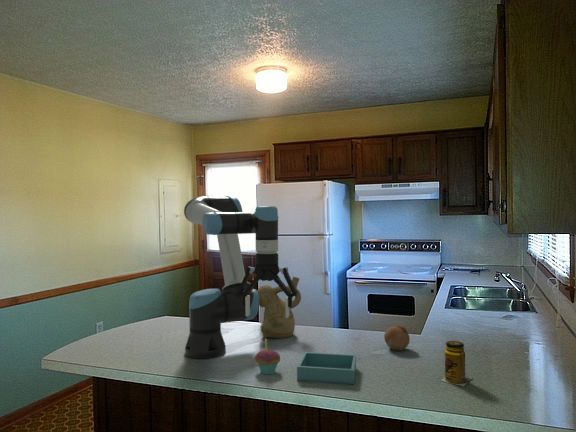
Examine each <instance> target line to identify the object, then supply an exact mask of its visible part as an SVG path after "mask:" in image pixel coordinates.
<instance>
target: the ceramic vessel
mask: <svg viewBox="0 0 576 432" xmlns="http://www.w3.org/2000/svg"><path fill="white" fill-rule="evenodd" d="M291 280H292V282H293V284H294V286H295V288H296V290H297V292H298V294H297V295H296V296H294V299H292V307H289V317H288V318H286V309H285V301H284V300H283V299H281V297H279V295H278V294H279V293H282V292H283V290H282V289H281V288H280V287H279V286H278V285H277V286H274V287H272V286H271V285H269V284H263V285H261V286H260V287H258V289H256V290H257V292H258V295H259V307H260V308H264V311H263V319H262V323H261V326H260V332H261V333H262V335H264V337H266V338H271V339H286V338H290V337H291V336H292V335H294V333H295V329H296V328H295V327H296V323H295V317H294V314H293V311H292V309H295V308H296V307H298V306H299V305H300V303H301V300H302V294H301V291H300V290H299V289H298V288H297V287H298V284H299V281H300V278H299V277H297V276H292V278H291ZM286 287H287V288H288V289H289V290H290V288H289V286H288V285H286ZM290 292H291V290H290ZM291 293H292V292H291Z"/></svg>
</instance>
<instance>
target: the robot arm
mask: <svg viewBox="0 0 576 432" xmlns="http://www.w3.org/2000/svg"><path fill="white" fill-rule="evenodd" d="M183 209H184V210H183V214H184V216H185V218H186V220H187V221H189V223H191V224H193V225H200V226H202V230H203V233H204V234H206V235H208V236H209V235H211V236H212V235H213V236H216V237H217V243H218V251H219V256H220V260H221V261H220V263H221V267H222V274H223V280H224V286H222V288H221V290H220V288H214V287H213V288H206V289H201V290H198V291H195V292H193V293H192V294H191V295H190V296H189V302H188V303H189V304H188V305H189V306H188V309H189V312H188V313H189V315H188V316H189V318H188V319H189V333H188V338H187V339H186V344H185V346H184V354H185V356H186V357H188V358H191V359H211V358H212V359H213V358H216V357H220V356H222V355H224V354H225V353H226V347H227V346H226V342H225V339H224V337H223V334H222V330H221V328H222V324H225V323H226V324H227V323H232V322H235V323H236V322H242V321H243V322H246V321H249V320H253V319H255V317H256V316H257V315H258V312H259V307H260V305H259V295H258V292H257V290H258V289H256V288H255V289H254V287H255V286H256V285H257V284H258V282H259V281H260V280H261V281H262V282H265V281H268V282H272V281H273V282H275V284H276V285H277V287H278V286H279V287H280V288H281V289H282V290H283V291H282V292H283V293H284V294H285V295H286V297H285V301H284V302H285V309H286V318H288V317H289V307H292V301H293V297H295V296H296V295H297V294H298V292H297V290H296V288H295V286H294V284H293V282H292V278H291V276H290V274H289V268H288V267H287V266H284V267H279V253H278V251H279V213H278V211H279V209H278V208H277V206H275V205H270V206H269V205H263V206H262V205H260V206H259V205H258V206H256V207H255V211H244V212H243V207H242V204H241V201H240V200H239V199H238V198H237V197H235V196H230V195H225V196H223V195H222V196H220V195H218V196H214V195H213V196H212V195H211V196H208V195H207V196H206V195H201V196H196V197H193V198H191V199H190V200H189V201H187V202H186V204H185V206H184V208H183ZM244 234H255V252H256V253H255V267H252V266H247V267H246V269H245V266H244V260H243V255H242V250H241V245H240V240H239V239H240V238H239V235H244ZM253 273H255V274H256V276H255V278H254V279H253V280H252V281H251V282H249V279H250V277H251V275H252V274H253ZM279 273H281V274H282V275H283V277H284V279H285V282H286V283H287V285H286V284H285V283H284V282H283V281H282V280H281V278H280V276H279V275H278V274H279ZM286 286H289V288H290V290H291V292H290V290H289V289H288V288H287V287H286Z"/></svg>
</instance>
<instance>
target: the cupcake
mask: <svg viewBox="0 0 576 432" xmlns="http://www.w3.org/2000/svg"><path fill="white" fill-rule="evenodd" d="M264 337H265V336H264ZM254 361H255V362H256V363H257V365H258V368H259V371H260V373H261V374H263V375H272V374H274V373H275V372H276V370H277V366H278V364H279V363H280V362H281V355H280V354H279V352H278V351H275V350H274V349H269V348H268V339H267V337H265V339H264V349H263V350H260V351H258V352H257V353H256V354H255V357H254Z"/></svg>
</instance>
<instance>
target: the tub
mask: <svg viewBox="0 0 576 432" xmlns="http://www.w3.org/2000/svg"><path fill="white" fill-rule="evenodd" d="M356 371H357V355H356V354H345V353H341V354H339V353H325V352H309V351H306V352H304V353H303V355H302V356H301V359H300V360H299V362H298V363H297V365H296V378H297V379H296V381H297V382H309V383H321V384H336V385H350V386H354V384H355V378H356Z"/></svg>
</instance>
